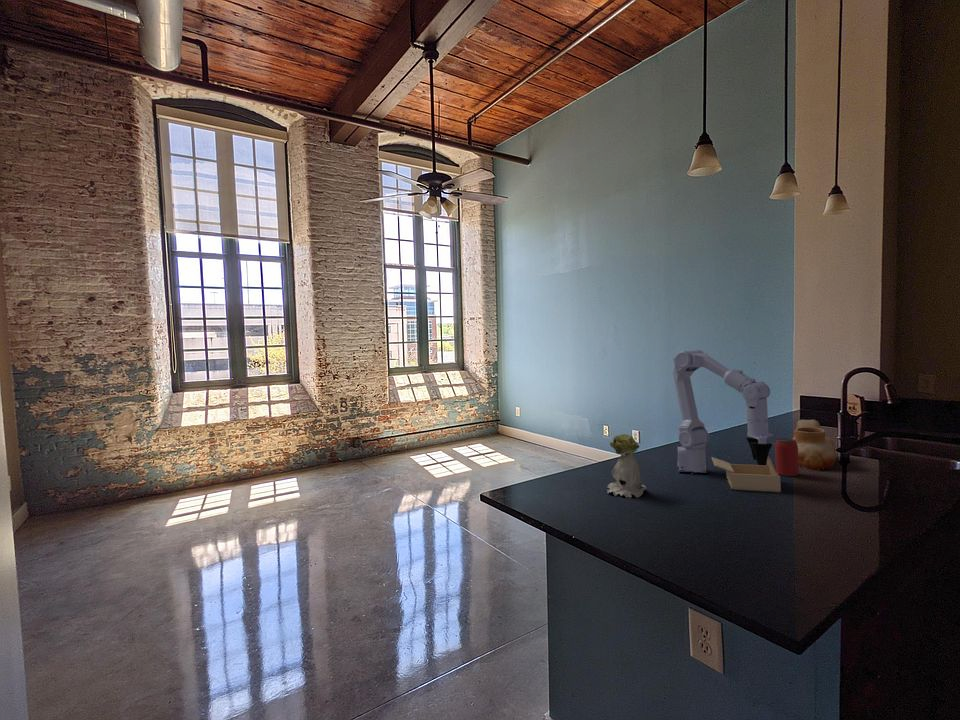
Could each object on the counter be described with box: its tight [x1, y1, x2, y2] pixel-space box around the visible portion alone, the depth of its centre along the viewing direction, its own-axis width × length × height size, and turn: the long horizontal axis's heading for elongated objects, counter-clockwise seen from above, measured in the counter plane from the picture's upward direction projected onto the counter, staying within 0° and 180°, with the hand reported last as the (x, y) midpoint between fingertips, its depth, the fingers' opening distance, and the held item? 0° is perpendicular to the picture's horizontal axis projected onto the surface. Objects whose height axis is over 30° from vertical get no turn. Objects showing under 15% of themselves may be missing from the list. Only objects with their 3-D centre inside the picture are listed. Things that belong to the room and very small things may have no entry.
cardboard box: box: [725, 463, 782, 493], centre depth 148 cm, size 13×13×5 cm
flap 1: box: [711, 456, 734, 473], centre depth 151 cm, size 6×11×1 cm, turn 157°
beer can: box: [774, 437, 800, 477], centre depth 158 cm, size 7×7×12 cm
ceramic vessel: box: [791, 419, 837, 470], centre depth 172 cm, size 14×26×15 cm, turn 148°
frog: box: [606, 433, 647, 499], centre depth 148 cm, size 12×13×18 cm
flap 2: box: [766, 455, 777, 474], centre depth 146 cm, size 6×11×1 cm
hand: (759, 462), depth 147 cm, fingers open, 7 cm apart
